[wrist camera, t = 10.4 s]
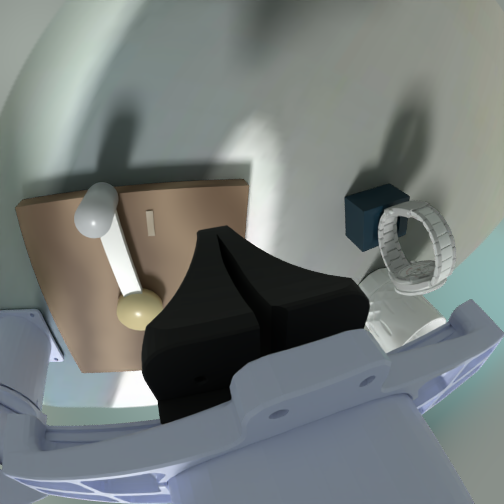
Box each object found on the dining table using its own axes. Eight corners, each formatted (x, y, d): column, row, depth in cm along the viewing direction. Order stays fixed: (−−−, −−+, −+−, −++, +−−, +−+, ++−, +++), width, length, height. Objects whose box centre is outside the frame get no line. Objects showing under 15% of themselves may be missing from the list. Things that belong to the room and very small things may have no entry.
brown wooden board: (83, 362, 28) (82, 373, 26) (22, 199, 17) (14, 208, 16) (232, 349, 33) (235, 359, 31) (243, 179, 22) (249, 186, 21)
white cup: (406, 272, 35) (453, 321, 27) (371, 316, 38) (410, 368, 30) (376, 254, 31) (432, 312, 23) (336, 306, 34) (379, 368, 26)
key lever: (167, 317, 25) (170, 345, 22) (126, 325, 24) (126, 354, 21) (124, 175, 17) (118, 193, 15) (71, 190, 17) (57, 210, 14)
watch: (345, 250, 29) (410, 323, 21) (343, 179, 25) (430, 243, 16) (387, 234, 30) (454, 296, 21) (390, 167, 25) (477, 219, 16)
